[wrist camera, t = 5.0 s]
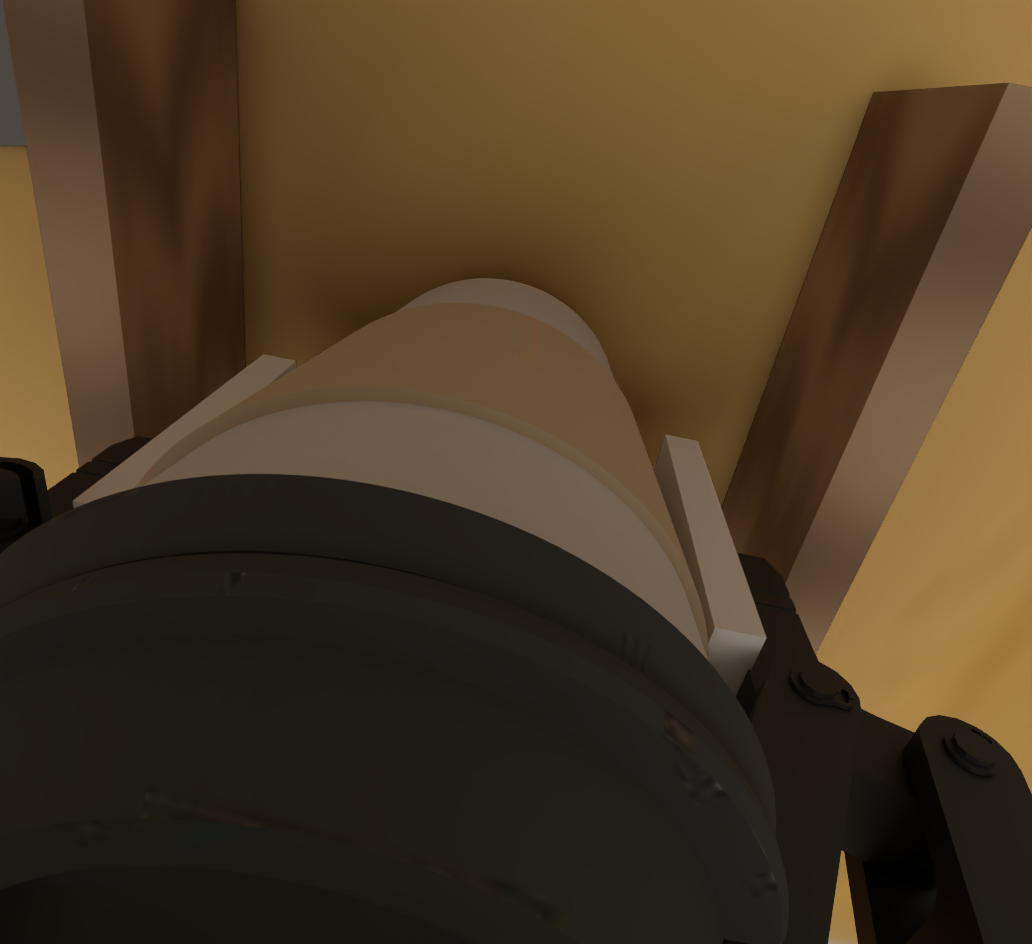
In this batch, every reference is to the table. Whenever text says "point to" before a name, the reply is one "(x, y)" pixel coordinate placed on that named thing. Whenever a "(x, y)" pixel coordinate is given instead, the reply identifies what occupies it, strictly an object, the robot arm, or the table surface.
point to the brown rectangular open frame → (219, 274)
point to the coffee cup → (383, 670)
